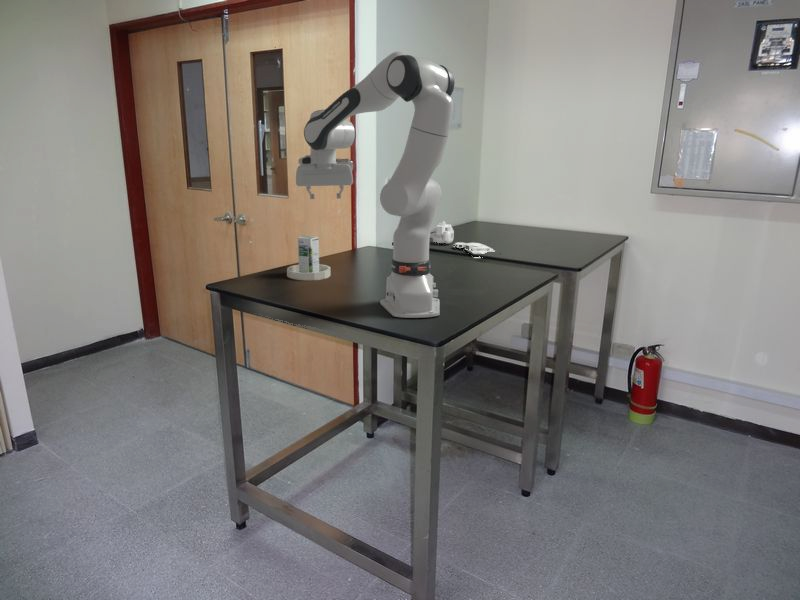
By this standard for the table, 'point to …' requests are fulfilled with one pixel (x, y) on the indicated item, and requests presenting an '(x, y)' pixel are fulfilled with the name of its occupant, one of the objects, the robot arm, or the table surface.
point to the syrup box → (308, 254)
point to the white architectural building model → (475, 248)
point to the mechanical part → (443, 233)
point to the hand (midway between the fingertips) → (325, 198)
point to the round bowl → (322, 274)
